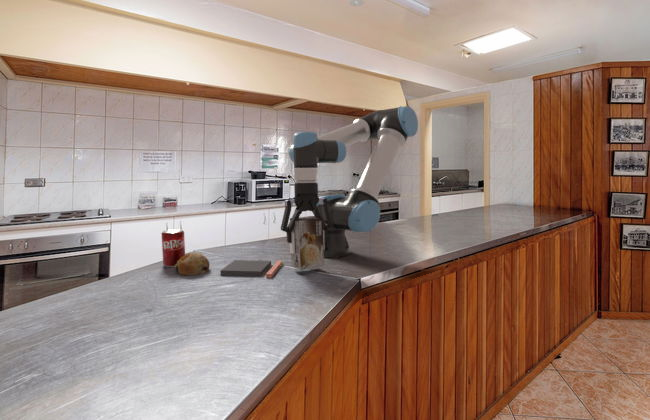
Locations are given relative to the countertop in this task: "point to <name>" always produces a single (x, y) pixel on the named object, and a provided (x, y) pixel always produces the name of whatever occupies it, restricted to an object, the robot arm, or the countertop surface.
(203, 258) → the bread roll
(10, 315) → the countertop surface
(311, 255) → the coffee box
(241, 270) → the mat
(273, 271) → the pink bar
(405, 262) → the countertop surface
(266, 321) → the countertop surface
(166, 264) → the soda can
